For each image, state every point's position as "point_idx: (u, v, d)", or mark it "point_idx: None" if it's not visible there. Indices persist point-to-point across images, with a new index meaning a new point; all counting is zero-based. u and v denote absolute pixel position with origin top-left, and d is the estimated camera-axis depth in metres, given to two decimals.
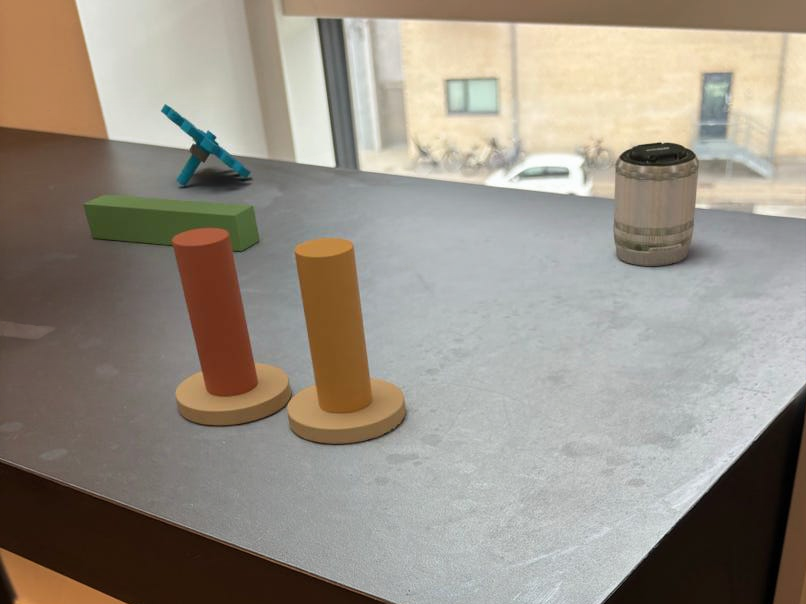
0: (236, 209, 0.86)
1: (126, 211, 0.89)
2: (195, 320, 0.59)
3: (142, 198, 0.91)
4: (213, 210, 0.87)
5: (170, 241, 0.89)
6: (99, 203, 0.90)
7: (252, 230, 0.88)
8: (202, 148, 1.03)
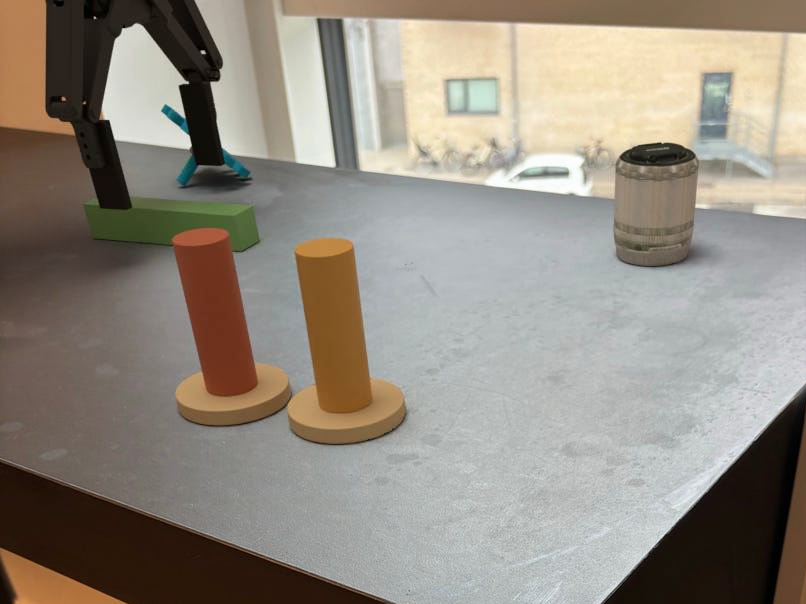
0: (236, 209, 0.86)
1: (126, 211, 0.89)
2: (195, 320, 0.59)
3: (142, 198, 0.91)
4: (213, 210, 0.87)
5: (170, 241, 0.89)
6: None
7: (252, 230, 0.88)
8: None
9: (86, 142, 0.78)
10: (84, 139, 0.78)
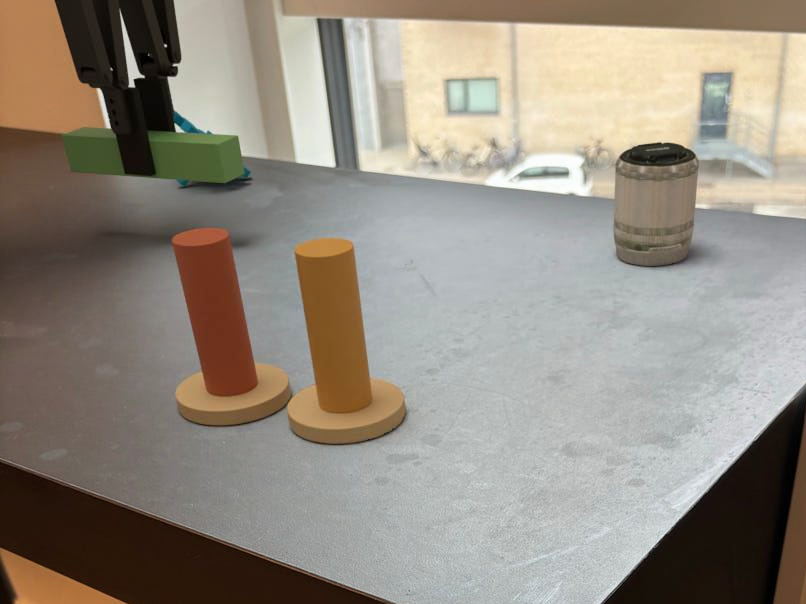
0: (220, 138, 0.83)
1: (105, 142, 0.85)
2: (195, 320, 0.59)
3: None
4: (196, 139, 0.83)
5: None
6: (78, 134, 0.87)
7: (237, 162, 0.84)
8: None
9: (115, 108, 0.81)
10: (113, 105, 0.81)
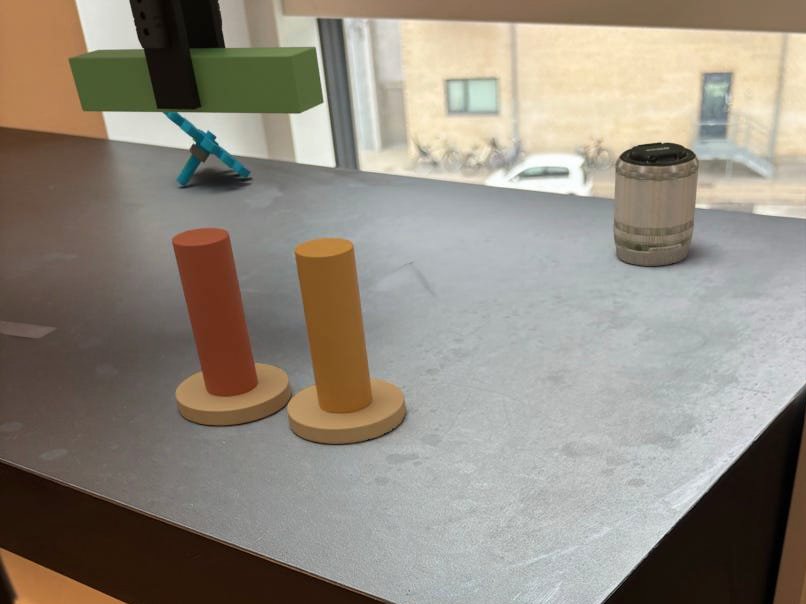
0: (292, 51, 0.59)
1: (130, 64, 0.62)
2: (195, 320, 0.59)
3: None
4: (258, 53, 0.59)
5: None
6: (91, 56, 0.63)
7: (314, 84, 0.60)
8: (202, 148, 1.03)
9: (144, 10, 0.57)
10: (141, 5, 0.57)
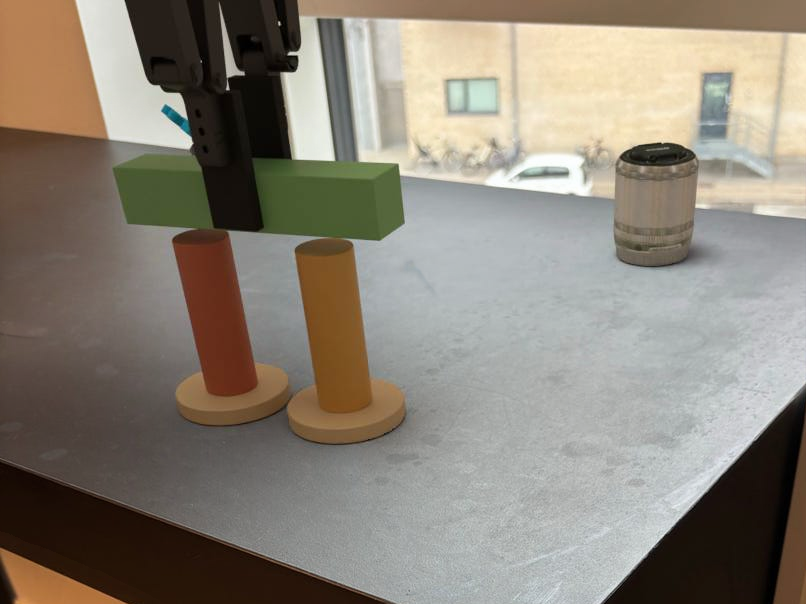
0: (372, 169, 0.51)
1: (183, 177, 0.54)
2: (195, 320, 0.59)
3: None
4: (333, 172, 0.51)
5: None
6: (139, 166, 0.55)
7: (395, 206, 0.52)
8: None
9: (204, 125, 0.49)
10: (201, 120, 0.49)
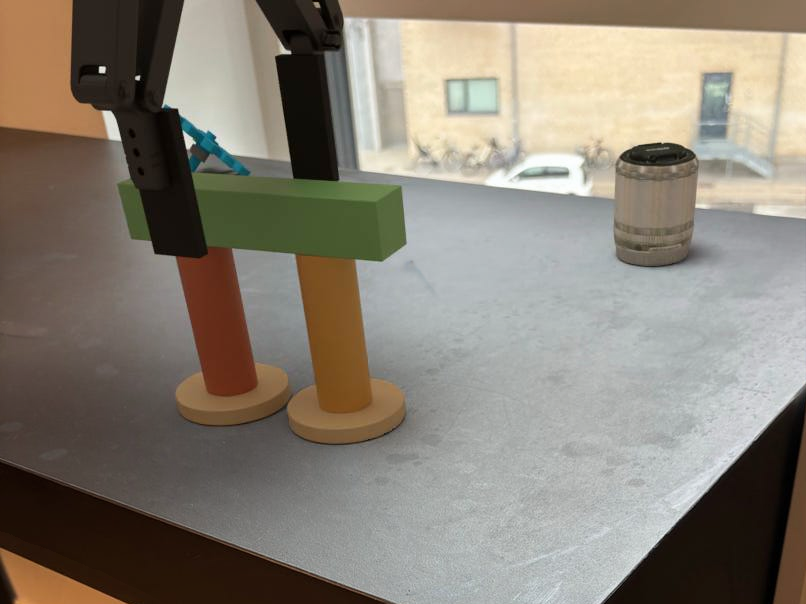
0: (375, 191, 0.52)
1: None
2: (195, 320, 0.59)
3: (213, 175, 0.56)
4: (336, 193, 0.52)
5: (260, 244, 0.54)
6: None
7: (398, 227, 0.53)
8: (202, 148, 1.03)
9: (138, 146, 0.46)
10: (135, 141, 0.46)
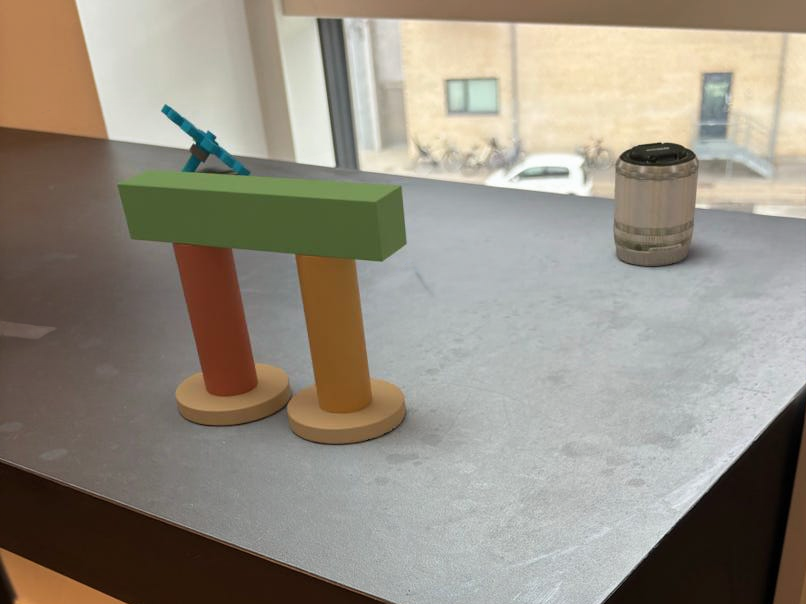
0: (375, 191, 0.52)
1: (188, 195, 0.54)
2: (195, 320, 0.59)
3: (213, 175, 0.56)
4: (336, 193, 0.52)
5: (260, 244, 0.54)
6: (143, 182, 0.55)
7: (398, 227, 0.53)
8: (202, 148, 1.03)
9: None
10: None
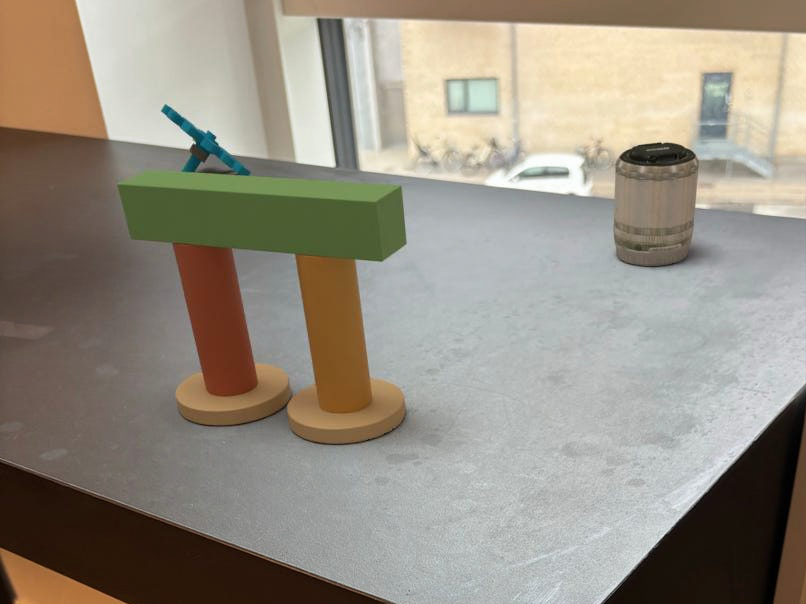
0: (375, 191, 0.52)
1: (188, 195, 0.54)
2: (195, 320, 0.59)
3: (213, 175, 0.56)
4: (336, 193, 0.52)
5: (260, 244, 0.54)
6: (143, 182, 0.55)
7: (398, 227, 0.53)
8: (202, 148, 1.03)
9: None
10: None
